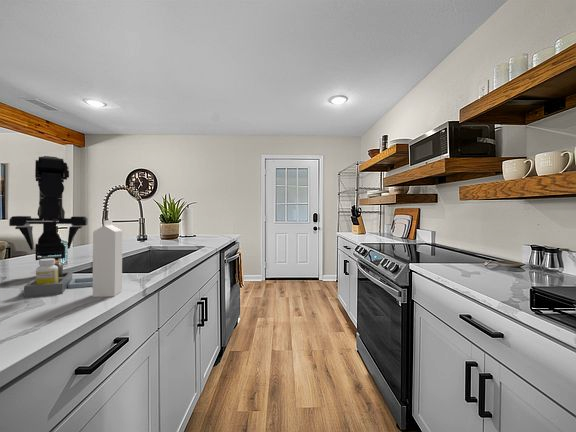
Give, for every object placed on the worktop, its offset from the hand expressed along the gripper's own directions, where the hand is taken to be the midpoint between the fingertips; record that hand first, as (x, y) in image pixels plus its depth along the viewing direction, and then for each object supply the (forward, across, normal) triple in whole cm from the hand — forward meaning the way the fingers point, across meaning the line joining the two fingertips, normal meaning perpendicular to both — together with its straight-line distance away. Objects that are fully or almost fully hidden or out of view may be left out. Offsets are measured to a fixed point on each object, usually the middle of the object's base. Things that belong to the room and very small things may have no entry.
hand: (50, 249), depth 98 cm
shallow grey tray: (+13, +1, -4) cm, 13 cm away
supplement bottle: (+13, +1, +1) cm, 13 cm away
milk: (+13, -16, +12) cm, 24 cm away
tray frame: (+13, -9, -6) cm, 17 cm away
